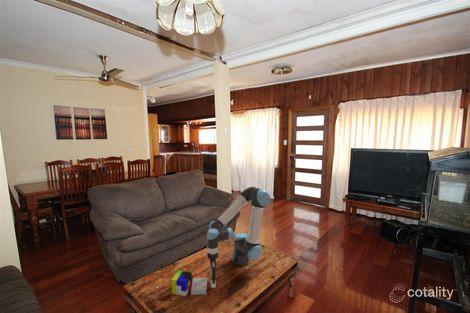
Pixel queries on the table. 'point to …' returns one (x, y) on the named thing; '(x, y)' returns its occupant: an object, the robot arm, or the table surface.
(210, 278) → the dowel
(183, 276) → the puzzle toy
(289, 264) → the table surface
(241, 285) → the table surface
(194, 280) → the slab
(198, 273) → the table surface
